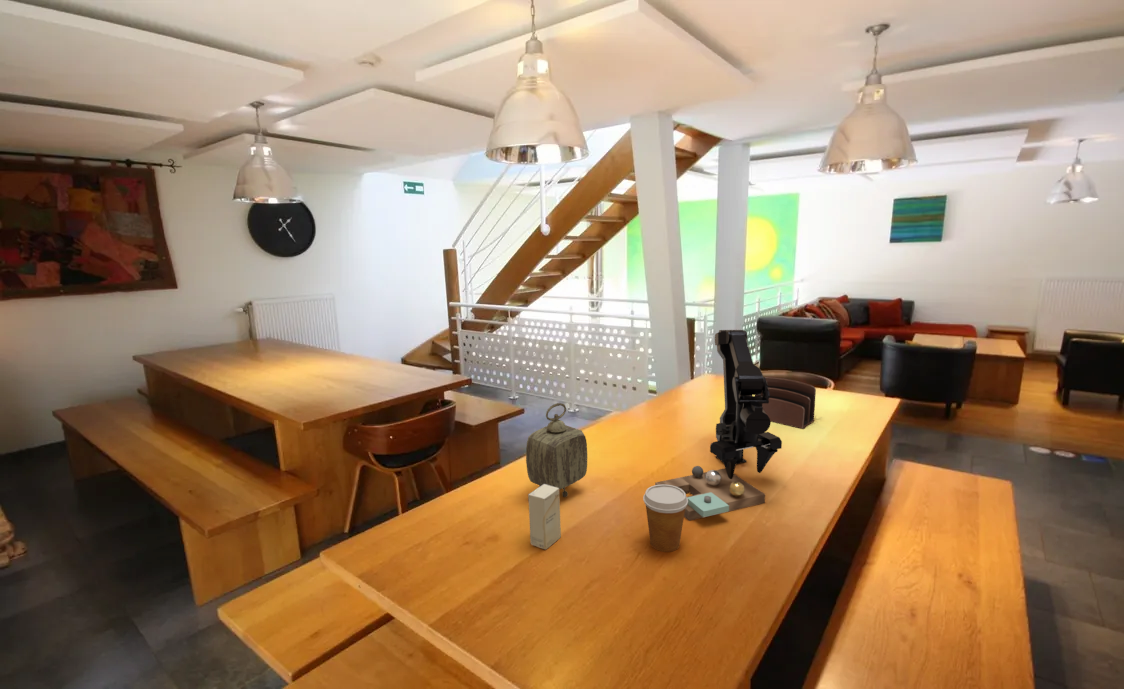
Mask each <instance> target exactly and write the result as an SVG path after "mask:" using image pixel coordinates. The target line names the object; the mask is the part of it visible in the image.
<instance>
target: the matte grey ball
mask: <svg viewBox="0 0 1124 689" xmlns="http://www.w3.org/2000/svg"><path fill="white" fill-rule="evenodd" d="M703 473H704V469H703V468H702V467H701V466H699V465H695V466H693V467H692V469H691V475H694V476H695V477H701V476H702V475H703Z"/></svg>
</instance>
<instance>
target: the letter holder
mask: <svg viewBox="0 0 1124 689" xmlns="http://www.w3.org/2000/svg"><path fill="white" fill-rule="evenodd" d="M764 377H765V378H766V381H767V384H768V389H769V393H770V398H769V403H762V407H763V410H764V412H765V413H766V414H767V415H768V417H769V418H770V421H771V423H775V424H780V425H784V426H787V427H792V428H796V429H800V430H804V429H805V428H807V427H808V426H810V425H811V424H813V423H814V421H815V408H816V394H817V392H816V391H817V389H816V387H815V386H814V385H812V384H810V383H806V382H802V381H798V380H795V379H790V378H789V379H787V378H782V377H772V376H771V377H770V376H764ZM754 396H763V394H762V393H761V395H754Z"/></svg>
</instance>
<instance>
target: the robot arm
mask: <svg viewBox="0 0 1124 689" xmlns="http://www.w3.org/2000/svg"><path fill="white" fill-rule="evenodd" d="M714 345H715V346H716V352H717V353H718V356H720V358H721V359H722V362H723V364H722V368H723V388H724V390H723V391H724V410H723V411H722V413H721V415H720V417H719V423H716V424H715V439H716V441H713V442H711V443H710V446H709V452H710V453H712V454H713V455H715V458H716V459H717V460H719V461H720V462H722V463H723V467H724V468H725V469H726V472H727V475H728V478H730V479H732V478H733V475H734V474H735V470H736V465H739V464H740V465H741V464H744V463H747V461H748V460H746V459H745V458H744V450H745V449H746V450H747V449H752V448H755V449H756V472H757V473H759V474H761V473H762V472H763V470H764V469H765V467H766V466H767V464H768V463H769V461H770V460H771V458H772V457H773V456H774V455H775V454H776V453H778V450H780V449H782V444H783V441H782V439H781V438H780V436H777V435H775V434H773V433H771V432H769V431H768V430H769V429H770V428H771V427H770V426H771V423H772V422H771V421H770V418H769V417H768V415H767V414H766V413H765V412H764V410H763V407H762V403H769V398H770V393H769V389H768V384H767V381H766V378H765V377H766V376H764V375H763V372H762V370H761V368H760V367H758V366H757V365H756V364H754V362H753V358H752V355H751V351H750V348H749V344H748V332H747V331H746V330H743V329H719V330H718V332H717V333H715V334H714ZM761 393H762V394H763V396H755V395H761Z"/></svg>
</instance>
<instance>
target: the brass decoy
mask: <svg viewBox="0 0 1124 689" xmlns="http://www.w3.org/2000/svg"><path fill="white" fill-rule="evenodd" d="M729 490H730V493H731V494H732V495H733V496H736V497H739V496H742V495H743V494H744V491H745V489H744V486H743V484H742V483H740V482H733V483H731V485H730V487H729Z"/></svg>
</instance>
